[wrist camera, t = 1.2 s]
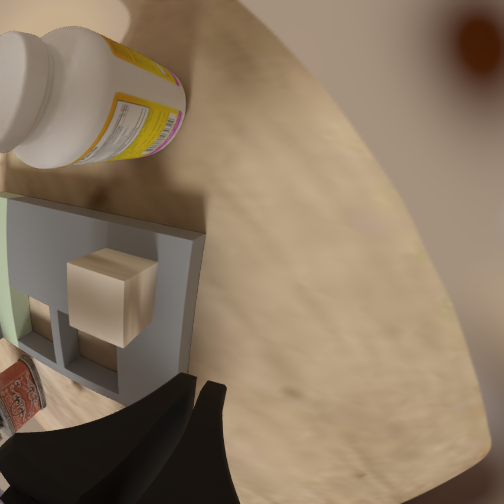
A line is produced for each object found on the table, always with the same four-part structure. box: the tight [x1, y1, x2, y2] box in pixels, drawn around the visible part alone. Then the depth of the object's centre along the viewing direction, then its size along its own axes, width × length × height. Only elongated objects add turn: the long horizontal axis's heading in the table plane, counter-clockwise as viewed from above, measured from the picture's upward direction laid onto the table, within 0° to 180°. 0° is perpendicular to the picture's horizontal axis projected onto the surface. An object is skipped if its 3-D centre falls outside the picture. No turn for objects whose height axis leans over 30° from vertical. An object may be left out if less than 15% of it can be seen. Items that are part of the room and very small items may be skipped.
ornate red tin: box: [0, 356, 46, 441], centre depth 23 cm, size 8×3×10 cm, turn 171°
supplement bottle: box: [0, 26, 186, 169], centre depth 12 cm, size 7×7×13 cm
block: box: [67, 248, 158, 348], centre depth 17 cm, size 4×4×4 cm
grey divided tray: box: [0, 192, 206, 406], centre depth 21 cm, size 15×22×4 cm
